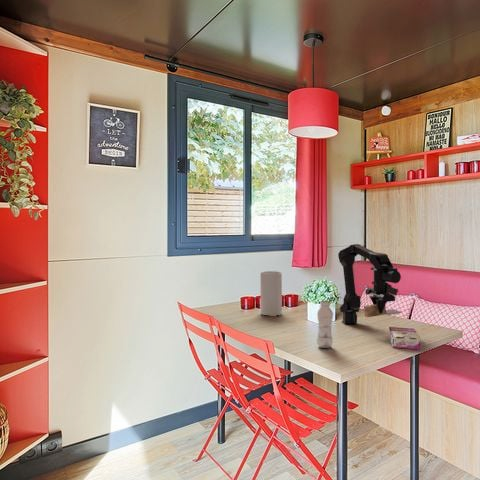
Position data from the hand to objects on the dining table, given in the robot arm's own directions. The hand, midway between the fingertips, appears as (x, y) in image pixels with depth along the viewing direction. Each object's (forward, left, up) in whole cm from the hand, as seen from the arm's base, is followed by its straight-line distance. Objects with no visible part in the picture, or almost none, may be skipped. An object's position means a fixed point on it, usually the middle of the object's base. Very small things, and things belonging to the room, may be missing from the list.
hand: (379, 312), depth 180 cm
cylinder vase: (-42, +49, -11) cm, 65 cm away
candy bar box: (+8, -7, -8) cm, 13 cm away
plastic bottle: (-32, -14, -11) cm, 37 cm away
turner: (+1, 0, -1) cm, 2 cm away
